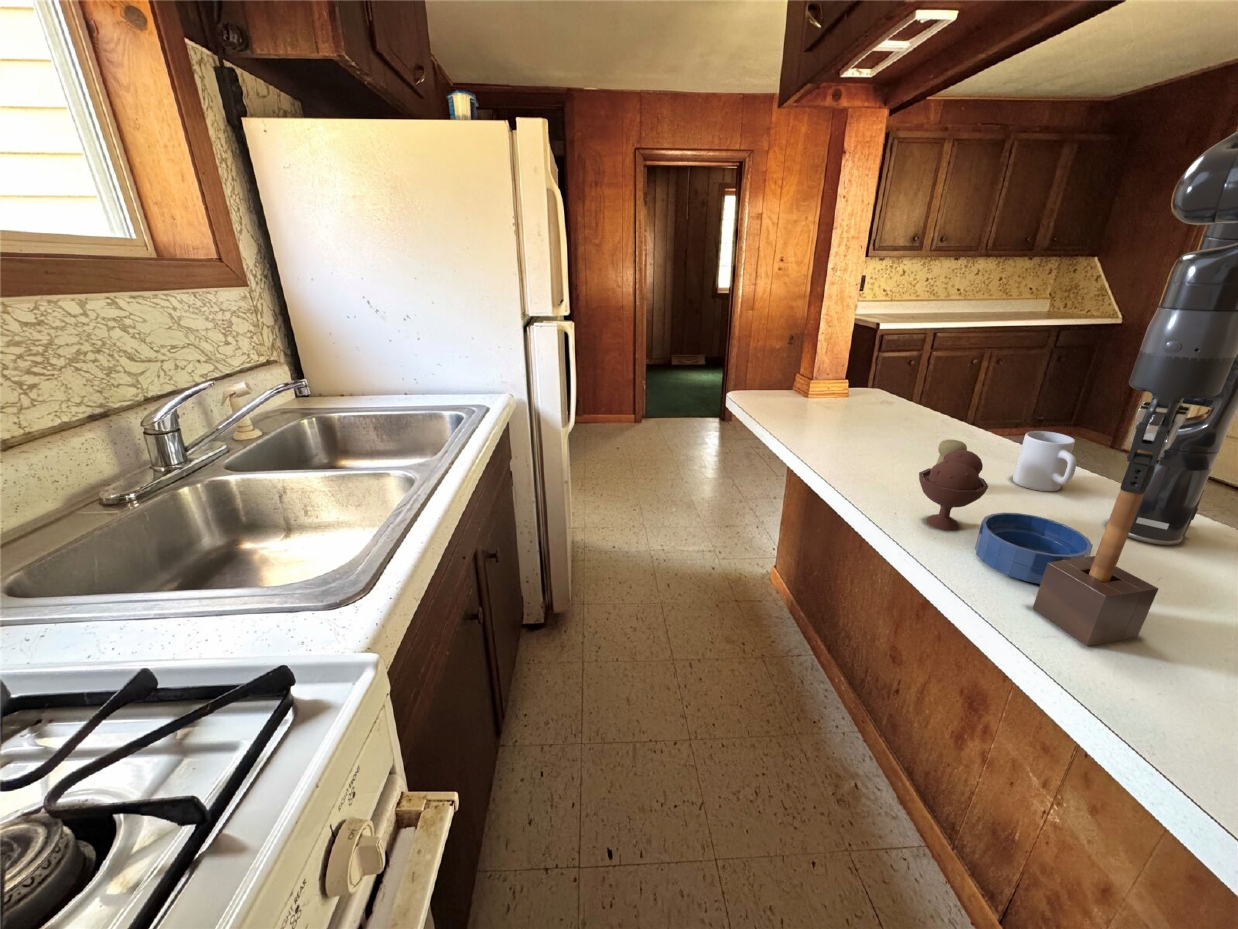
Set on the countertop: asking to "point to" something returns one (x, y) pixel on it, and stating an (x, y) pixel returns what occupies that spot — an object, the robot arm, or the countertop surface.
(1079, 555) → the blue round bowl
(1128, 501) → the stirring stick
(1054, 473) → the mug
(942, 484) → the ice cream bowl
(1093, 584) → the stand
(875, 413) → the countertop surface
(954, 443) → the cork
